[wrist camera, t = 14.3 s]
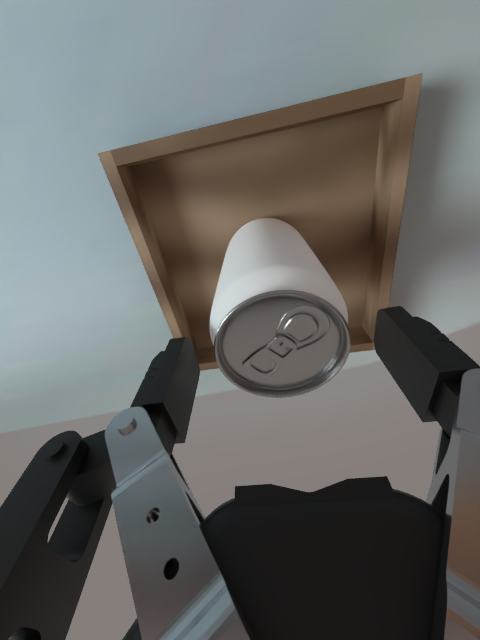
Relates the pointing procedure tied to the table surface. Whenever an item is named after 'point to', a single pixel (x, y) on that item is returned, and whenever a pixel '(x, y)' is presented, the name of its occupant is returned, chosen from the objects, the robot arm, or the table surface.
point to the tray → (273, 199)
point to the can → (277, 314)
